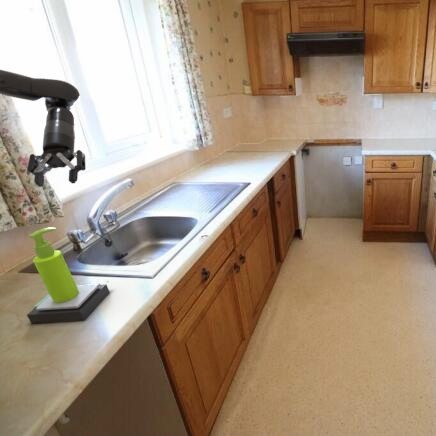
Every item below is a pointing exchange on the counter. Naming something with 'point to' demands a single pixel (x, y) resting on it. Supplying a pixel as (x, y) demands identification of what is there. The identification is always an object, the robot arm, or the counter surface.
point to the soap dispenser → (53, 269)
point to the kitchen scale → (69, 305)
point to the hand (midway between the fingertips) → (56, 183)
